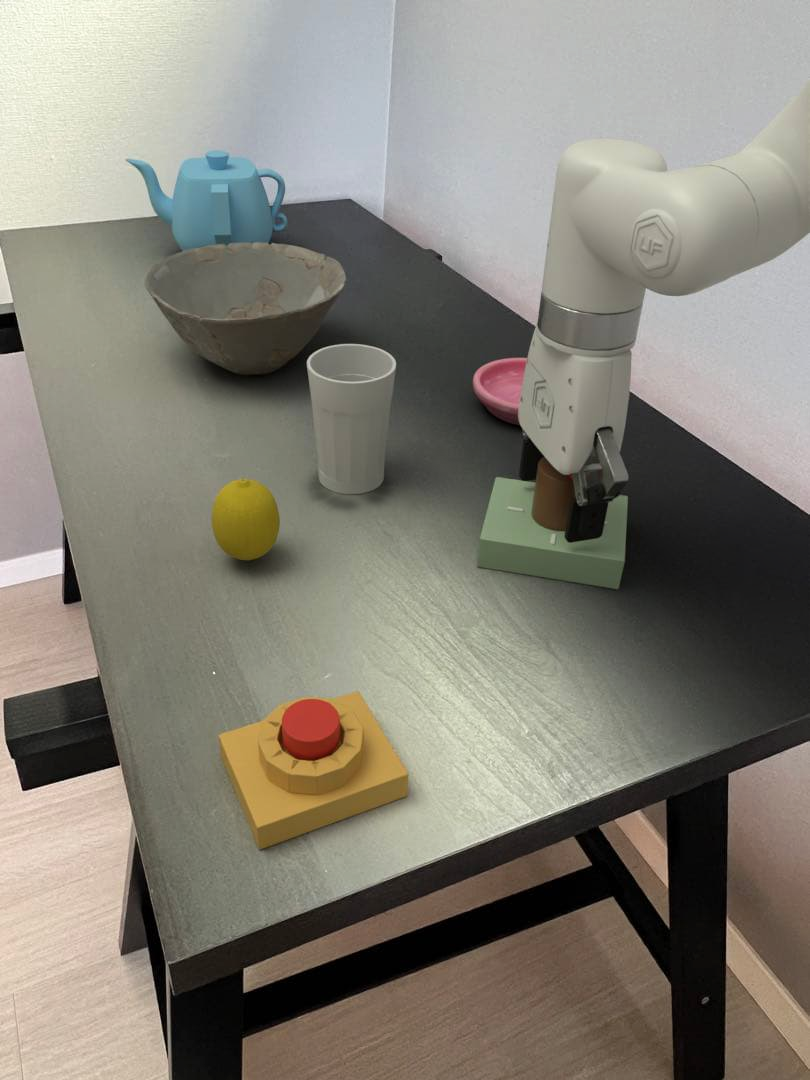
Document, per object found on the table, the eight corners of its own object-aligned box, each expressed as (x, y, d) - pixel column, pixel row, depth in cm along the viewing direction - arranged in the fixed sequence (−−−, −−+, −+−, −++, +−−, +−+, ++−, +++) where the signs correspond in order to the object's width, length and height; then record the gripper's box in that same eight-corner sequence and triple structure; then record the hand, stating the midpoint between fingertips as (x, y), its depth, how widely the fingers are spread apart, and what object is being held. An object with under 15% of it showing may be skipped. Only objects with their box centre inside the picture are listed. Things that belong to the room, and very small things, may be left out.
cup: (404, 490, 90) (409, 375, 83) (324, 505, 87) (322, 388, 80) (375, 449, 96) (377, 339, 89) (299, 462, 93) (295, 349, 86)
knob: (523, 506, 83) (529, 454, 80) (568, 498, 84) (576, 447, 81) (544, 534, 80) (552, 481, 77) (591, 526, 81) (600, 473, 78)
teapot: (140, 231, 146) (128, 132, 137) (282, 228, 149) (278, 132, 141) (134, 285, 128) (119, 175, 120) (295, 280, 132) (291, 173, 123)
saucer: (548, 374, 111) (552, 349, 109) (605, 424, 102) (610, 398, 100) (452, 390, 107) (454, 364, 105) (503, 443, 98) (506, 416, 96)
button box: (358, 712, 67) (358, 671, 64) (407, 796, 61) (410, 754, 59) (220, 756, 63) (215, 715, 61) (259, 850, 57) (255, 808, 55)
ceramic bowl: (138, 402, 102) (125, 314, 96) (173, 316, 120) (164, 238, 115) (344, 405, 103) (344, 319, 97) (347, 320, 122) (347, 243, 116)
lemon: (292, 567, 80) (288, 488, 75) (230, 586, 77) (222, 506, 73) (266, 533, 83) (261, 455, 79) (206, 550, 81) (197, 471, 76)
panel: (622, 523, 87) (628, 494, 85) (618, 589, 79) (625, 559, 77) (492, 503, 89) (496, 475, 87) (476, 566, 81) (479, 537, 79)
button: (327, 711, 62) (326, 692, 61) (348, 749, 59) (348, 730, 58) (274, 727, 60) (273, 708, 59) (294, 768, 58) (293, 748, 57)
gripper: (499, 280, 77) (481, 461, 87) (595, 373, 64) (561, 574, 74) (582, 273, 79) (555, 451, 89) (692, 362, 66) (646, 559, 76)
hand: (558, 506), depth 81 cm, fingers open, 9 cm apart
